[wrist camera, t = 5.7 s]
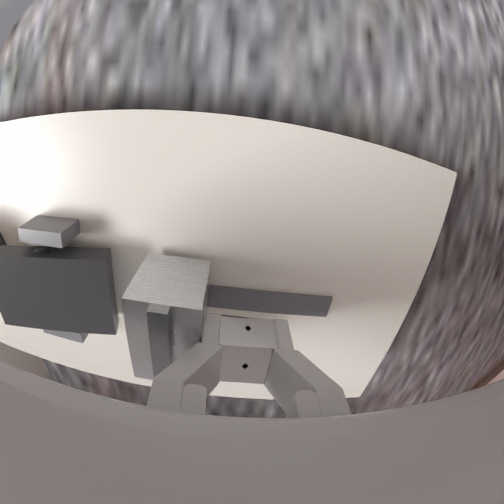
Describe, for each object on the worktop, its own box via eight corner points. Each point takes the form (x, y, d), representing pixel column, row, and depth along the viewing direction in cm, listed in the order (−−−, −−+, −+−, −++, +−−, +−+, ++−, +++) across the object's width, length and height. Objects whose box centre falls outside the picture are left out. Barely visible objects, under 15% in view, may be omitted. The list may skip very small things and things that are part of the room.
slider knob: (152, 326, 12) (131, 384, 9) (148, 252, 10) (116, 306, 7) (205, 333, 12) (197, 395, 9) (211, 260, 11) (200, 318, 8)
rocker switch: (12, 311, 10) (5, 324, 9) (-7, 245, 9) (-17, 255, 8) (119, 320, 12) (116, 335, 11) (110, 247, 10) (105, 260, 9)
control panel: (14, 306, 17) (-21, 349, 12) (-12, 126, 11) (-72, 141, 6) (344, 354, 19) (365, 415, 14) (411, 157, 13) (479, 181, 8)
